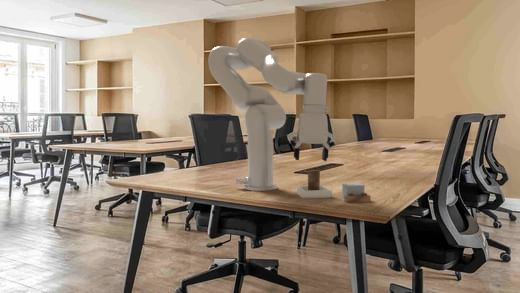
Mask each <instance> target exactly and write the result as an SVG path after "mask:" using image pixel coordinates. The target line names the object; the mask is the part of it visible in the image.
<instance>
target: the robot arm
mask: <svg viewBox="0 0 520 293" xmlns="http://www.w3.org/2000/svg"><path fill="white" fill-rule="evenodd" d="M278 63H279V56H278V55H277V54H276V52H274V51H272V48H271V45H270V44H269V43H268V42H267V41H265V40H262V39H257V38H254V37H244V38H241V39H240V40H239V41H238V42H237V45H236V47H233V46H226V45H219V46H216V47H214V48H212V49H211V50H210V52H209V54H208V63H207V64H208V68H209V71H210V74H211V76H212V77H213V78H214V80H215V81H216V82H217V83H218V84H219V86H220V87H221V88H222V89H223V90H224V91H225V93H226V94H227V95H228V97H229V98H230V100H232V102H233V103H234V104H235V105H236V107H237V108H238V109H240V110H245V111H246V112H245V114H244V115H245V116H244V121H245V122H244V123H245V127H246V134H247V175H246V177H243V178H235V184H240V185H241V184H242V185H243V184H244V185H243V189H244V190H247V191H254V192H267V191H274V190H277V189H278V185H277V184H276V183H275V184H274V139H273V135H272V132H271V130H279V129H280V128H282V127H284V125H285V123H286V120H287V115H286V111H285V110H284V108H283V106H282V105H281V104H280V103H279V102H278V101H277V99H276V98H275V97H274V96H273V95H272V94H271V93H270V91H269V90H267V89H266V88H265V87H262V86H259V85H253V84H249V83H247V81H246V80H244V78H243V77H242V75H240V73H238V72H237V70H238V71H241V70H243V71H244V70H246V69H249V68H252V67H253V68H254V69H255V70H256V71H257V70H258V72H260V73H261V75H262V77H263V79H264V80H265V82H267V84H269V85H270V86H271V87H272V88H274V89H275V90H277V91H278V92H280V93H283V94H286V95H287V94H289V95H290V94H291V95H299V96H300V95H302V96H303V101H302V102H303V103H302V113H299V116H298V121H297V122H298V123H297V126H296V130H295V131H292V132H290V133H289V134H286V136H287V140H288V141H289V144H291V145H292V147H293V148H294V149H293V158H294V159H295V161H299V160H300V152H301V150H300V148H299V147H300V146H301V145H302V144H315V145H317V144H318V145H321V146H322V147H323V149H322V151H321V153H322V154H321V160H322V161H324V162H327V159H329V150H330V149H331V148H332V147H333V146H334V144H335V142H336V141H337V139H338V136H336V135H334V134H333V133H331V132H329V128H328V127H329V124H328V116H327V114H326V112H330V107H328V106H327V105H326V104H327V103H326V102H327V89H328V88H327V86H328V77H327V74H325V73H321V72H307V73H303V72H296V71H290V70H287V69H286V68H284V67H283V66H282V65H280V64H278ZM293 137H295V138H296V141H294V139H293ZM328 138H330V141H329V142H328Z"/></svg>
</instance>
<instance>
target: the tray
mask: <svg viewBox="0 0 520 293" xmlns="http://www.w3.org/2000/svg"><path fill="white" fill-rule="evenodd" d="M296 194H297V195H298V196H299V197H300V198H302V199H304V200H305V199H306V200H307V199H330V198H331V199H332V198H333V190H332V189H330V188H328V187H326V186H325V185H320V190H310V191H308V185H297V186H296Z"/></svg>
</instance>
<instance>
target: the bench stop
mask: <svg viewBox="0 0 520 293" xmlns="http://www.w3.org/2000/svg"><path fill="white" fill-rule="evenodd" d="M343 201H344V202H345V203H371V195H370V194H367V192H364V193H361V195H354V194H353V193H348V195H344V199H343Z"/></svg>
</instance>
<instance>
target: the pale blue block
mask: <svg viewBox="0 0 520 293" xmlns="http://www.w3.org/2000/svg"><path fill="white" fill-rule="evenodd" d="M341 187H342V191H341V196H342V197H341V198H342V199H343V200H344V195H348V193H353V194H354V195H361V193H365V184H362V183H361V182H359V183H358V182H357V183H356V182H355V183H353V182H352V183H351V182H350V183H342V186H341Z"/></svg>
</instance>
